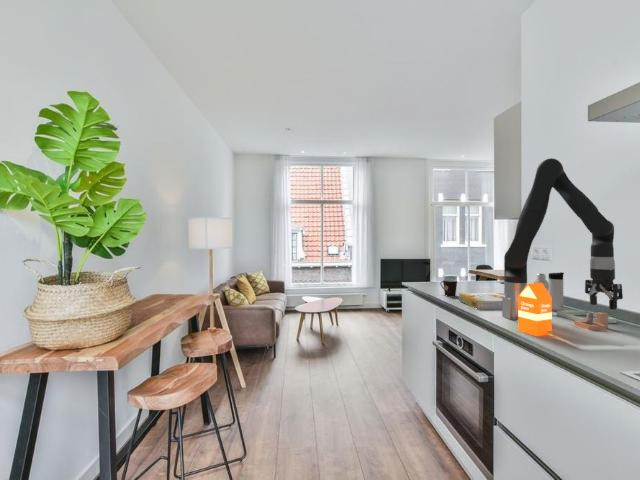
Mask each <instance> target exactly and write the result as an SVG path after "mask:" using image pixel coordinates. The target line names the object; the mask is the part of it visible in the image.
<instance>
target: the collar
mask: <svg viewBox="0 0 640 480" xmlns="http://www.w3.org/2000/svg"><path fill="white" fill-rule="evenodd" d="M595 313H596V317H595V318H596V322H593V325H588V324H587V321H575V320H573V324H574V325H575V326H578V327H581V328H584V329H587V330H606V329H608V328H609V323H608V317H609V313H607V312H603V311H602V312H599V311H598V312H597V311H596V312H595Z"/></svg>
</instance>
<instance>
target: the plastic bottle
mask: <svg viewBox="0 0 640 480" xmlns="http://www.w3.org/2000/svg"><path fill="white" fill-rule="evenodd" d="M546 276H547V275H546V273H536V279H535V281H534V282H533V283H543V285H544V286H545V288H546V290H547V291H548V289H549V283H548V280H547V277H546Z"/></svg>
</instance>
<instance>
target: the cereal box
mask: <svg viewBox="0 0 640 480" xmlns="http://www.w3.org/2000/svg"><path fill="white" fill-rule="evenodd" d="M458 294H459V297H458V300H459V302H460V303H462V302H463V304H464V303H465V305H467V306H469V307H471V306H472V307H471V308H473V307H474V308H473V309H475V308H477V309H476V310H502V297H504V293H497V292H496V293H492V292H491V293H487V292H483V293H481V292H480V293H478V292H477V293H476V292H475V293H473V292H472V293H471V292H470V293H469V292H465V293H463V292H461V293H460V292H459V293H458Z"/></svg>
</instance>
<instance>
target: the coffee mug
mask: <svg viewBox="0 0 640 480" xmlns="http://www.w3.org/2000/svg"><path fill="white" fill-rule="evenodd" d="M442 283H443V285H442ZM457 284H458V280H455V279H443V280H442V281H440V286H441V288H442V289H443V291H444V296H445V295H447V296H446V297H449V296H455V297H456V294H457Z"/></svg>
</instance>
